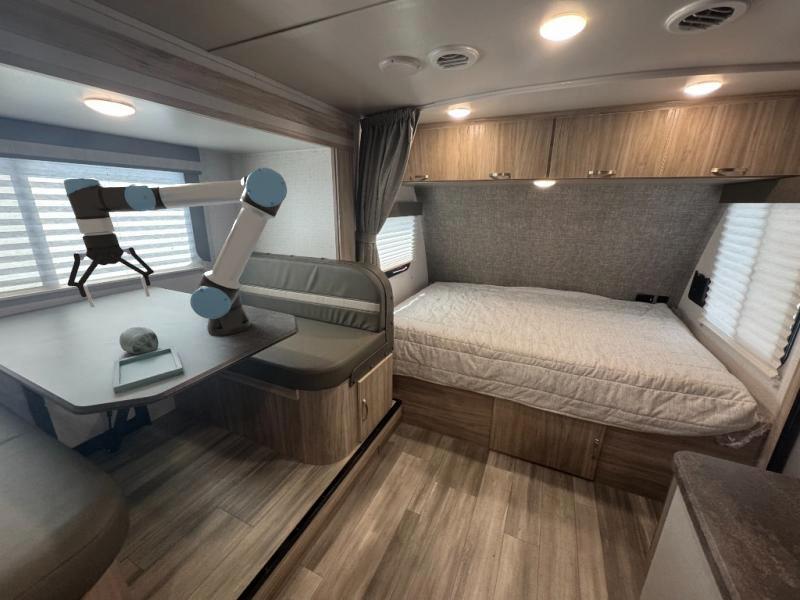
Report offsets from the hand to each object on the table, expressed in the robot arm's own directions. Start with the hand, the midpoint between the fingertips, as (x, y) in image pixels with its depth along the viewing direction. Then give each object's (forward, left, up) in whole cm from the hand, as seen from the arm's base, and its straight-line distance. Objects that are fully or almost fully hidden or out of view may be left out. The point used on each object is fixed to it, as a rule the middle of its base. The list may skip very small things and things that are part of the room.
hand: (121, 300), depth 100 cm
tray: (-2, +17, -19) cm, 25 cm away
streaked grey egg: (-1, -1, -19) cm, 19 cm away
